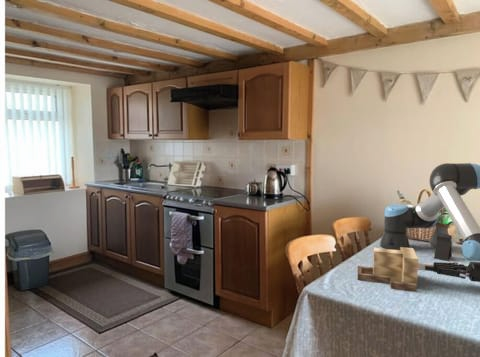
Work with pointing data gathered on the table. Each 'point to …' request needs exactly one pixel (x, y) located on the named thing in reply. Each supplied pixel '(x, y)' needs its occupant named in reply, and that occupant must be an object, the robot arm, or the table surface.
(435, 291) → the table surface
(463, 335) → the table surface
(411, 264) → the oak T block
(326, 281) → the table surface
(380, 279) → the walnut T frame
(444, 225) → the coffee pot
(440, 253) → the phone stand
